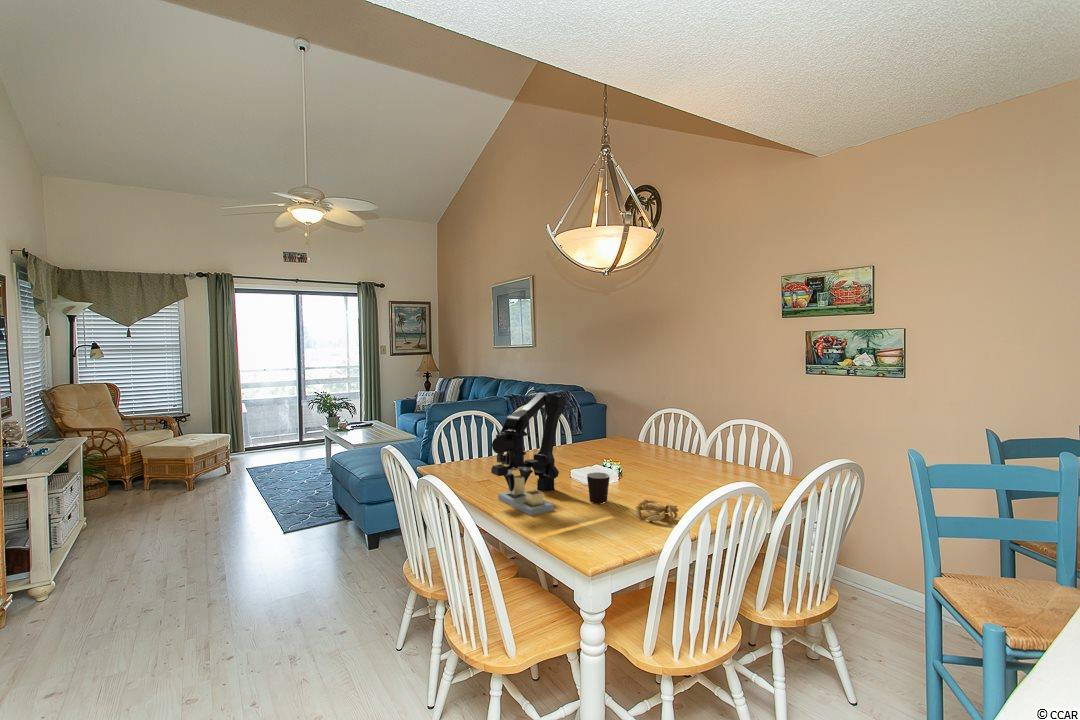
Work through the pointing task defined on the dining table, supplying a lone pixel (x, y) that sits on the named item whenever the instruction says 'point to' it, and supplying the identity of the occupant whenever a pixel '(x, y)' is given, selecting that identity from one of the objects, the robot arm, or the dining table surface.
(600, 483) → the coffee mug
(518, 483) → the block
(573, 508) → the dining table surface
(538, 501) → the block
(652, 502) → the crab model
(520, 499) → the grey slotted plate
